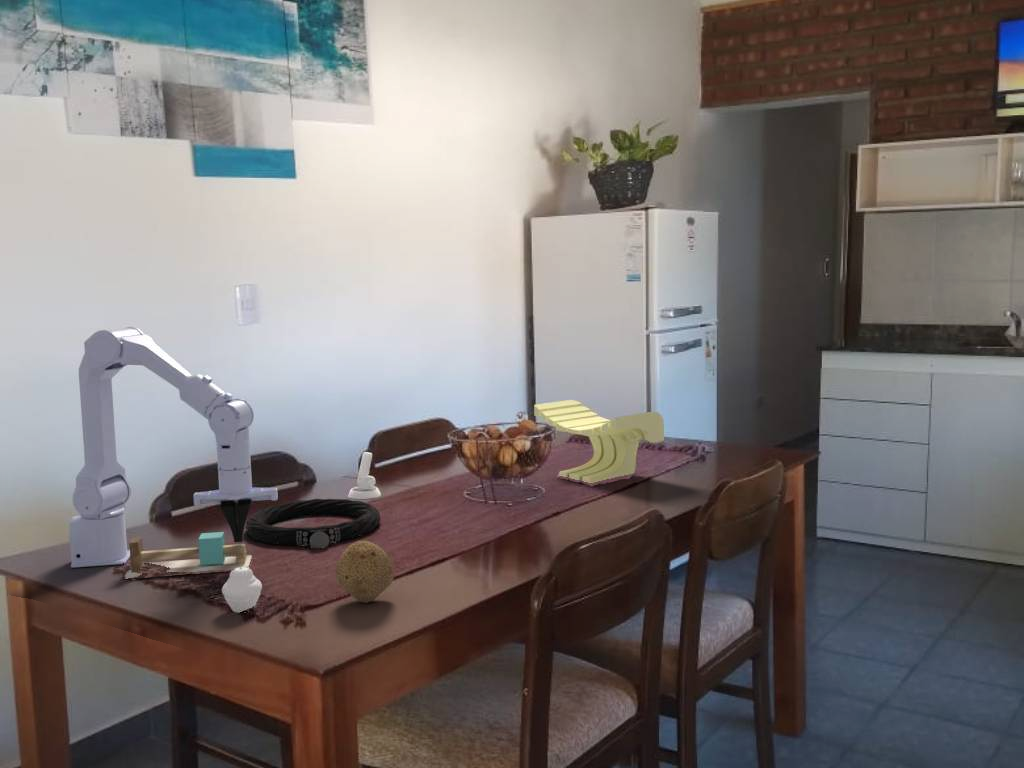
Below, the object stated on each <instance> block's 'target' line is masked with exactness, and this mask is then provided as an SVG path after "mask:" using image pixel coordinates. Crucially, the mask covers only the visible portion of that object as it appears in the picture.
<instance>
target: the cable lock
mask: <svg viewBox="0 0 1024 768" xmlns="http://www.w3.org/2000/svg"><path fill="white" fill-rule="evenodd" d="M324 514H327V515H337V514H341V515H340V516H351V515H353V516H352V517H355V516H356V517H355V518H356V519H353V520H348V521H345V522H341V523H338V524H328V525H321V526H315V527H314V526H313V527H311V526H310V527H307V526H306V527H285V526H276V525H275V526H274V525H272V524H273V523H275V522H279V521H284V520H288V519H292V518H298V517H308V516H315V515H317V516H318V515H319V516H320V515H321V516H323V515H324ZM324 516H325V515H324ZM357 517H358V518H357ZM380 521H381V514H380V511H379V509H377V508H376V507H374V506H373V505H371V504H370V503H366V502H364V501H362V500H361V501H360V500H353V499H352V500H351V499H348V498H346V499H345V498H326V499H324V498H313V499H308V500H307V499H306V500H304V499H303V500H295V501H290V502H286V503H281V504H280V503H279V504H274V505H272V506H271V505H270V506H269V507H266V508H263V509H260V510H258V511H257V512H254V513H253V514H251V515H250V517H249V518H248V519H246V522H245V527H244V529H245V530H247V531H246V533H247V534H248V535H249V536H250V537H251V538H252V539H253V540H256V541H259V540H261V541H264V542H267V543H266V544H271V543H273V544H272V545H277V543H278V544H285V545H284V546H297V545H300V546H302V545H304V546H303V547H305V546H307V547H312V548H311V549H313V548H322V547H326V548H327V546H330V544H329V543H333V544H335V543H334V542H337V541H338V542H339V541H340V540H343V541H346V540H345V539H347V540H349V539H348V538H352V537H355V538H357V537H356V536H359V535H362V534H364V535H365V533H366V534H367V532H368V533H370V532H372V531H373V530H374V529H375V528H377V527H378V526H379V523H380ZM371 530H372V531H371ZM369 531H370V532H369ZM362 536H363V535H362ZM359 537H360V536H359ZM352 539H353V538H352ZM261 541H260V542H261ZM264 542H263V543H264ZM338 542H337V543H338ZM340 542H341V541H340ZM340 542H339V543H340ZM309 544H310V545H309ZM308 545H309V546H308ZM300 546H299V547H300Z"/></svg>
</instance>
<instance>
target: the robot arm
mask: <svg viewBox="0 0 1024 768" xmlns="http://www.w3.org/2000/svg"><path fill="white" fill-rule="evenodd" d="M83 345H84V347H83V348H84V354H83V356H82V359H81V362H80V365H79V367H78V380H79V381H78V383H79V395H80V396H79V399H80V400H79V401H80V410H81V411H80V412H81V413H80V415H81V426H82V428H81V429H82V441H83V453H84V454H83V455H84V457H83V458H84V464H83V467H82V468H81V470H80V471H79V472H78V474H77V475H76V477H75V488H74V491H73V493H72V500H71V501H72V505H73V508H74V509H75V510H76V513H78V514H79V515H74V516H72V517H71V519H70V523H69V532H68V533H69V534H68V535H69V543H70V544H69V545H70V556H71V557H70V558H71V564H70V568H85V567H96V566H110V565H111V566H112V565H123V563H124V564H126V563H127V561H128V560H129V558H130V549H128V544H127V529H126V519H125V518H126V516H125V510H126V504H127V503H128V501H129V500H130V498H131V496H132V495H131V494H132V489H131V485H130V483H129V481H128V479H127V476H126V469H125V467H123V465H122V464H121V463H119V462H118V459H117V447H116V446H117V445H116V428H115V415H114V414H115V413H114V400H113V399H114V398H113V396H114V395H113V383H112V382H113V381H112V380H113V378H114V376H116V375H117V374H118V373H119V372H120V371H122V369H123V368H124V367H126V366H142V367H144V368H146V369H148V370H149V371H151V372H152V373H154V374H155V375H157V377H160V378H161V379H162V380H164V381H166V382H167V383H168V384H170V385H172V386H173V387H174V388H176V389H177V390H178V393H179V398H180V400H181V401H183V402H184V403H185V404H186V405H188V407H190V408H191V409H192V410H194V411H195V412H197V413H198V414H199V415H201V416H202V417H204V418H205V419H206V420H207V422H208V426H209V428H210V429H211V431H212V432H213V434H214V437H215V444H216V458H217V460H216V461H217V473H218V489H215V490H208V491H200V492H194V494H192V495H193V496H192V497H193V505H194V506H201V505H207V504H208V505H209V504H220V507H219V509H220V511H221V513H222V515H223V516H224V517H225V520H226V522H227V524H228V525H229V528H230V531H231V533H232V537H233V542H234V543H242V542H243V540H244V533H245V532H244V530H245V527H246V521H247V517H248V514H249V511H250V509H251V507H252V504H253V501H255V502H257V501H258V502H259V501H269V500H271V501H277V500H278V499H279V497H278V495H279V494H278V493H279V492H278V487H253V483H252V482H253V481H252V480H253V479H252V465H251V461H252V460H251V448H250V447H251V446H250V430H249V428H250V426H251V425H252V423H253V421H254V416H255V415H254V410H253V408H252V407H251V405H250V404H249V403H248V402H247V401H246V400H245V399H244V398H239V397H238V398H233V394H231V393H230V392H226V391H224V390H222V389H221V388H220V387H219V386H217V385H216V384H215V383H213V378H212V377H210V375H203V374H200V373H199V374H193V375H192V374H191V373H190V372H188V370H186V369H185V368H184V367H183V366H181V365H180V364H179V363H178V362H177V361H176V360H174V358H172V356H170V355H168V354H167V353H166V351H164V350H163V349H162V348H161V347H159V346H158V345H157V344H156V343H155V341H154V340H153V337H151V336H149V335H147V334H145V333H144V332H143V331H142V330H140V329H139V328H137V327H133V326H128V327H125V328H117V329H115V328H114V329H109V330H108V329H107V330H106V329H101V330H97V331H95V332H94V333H93V334H91V335H90V336H89V337H88V338H87V339H86V340H85V341H84V342H83Z"/></svg>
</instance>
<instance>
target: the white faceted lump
mask: <svg viewBox="0 0 1024 768" xmlns="http://www.w3.org/2000/svg"><path fill="white" fill-rule="evenodd" d="M256 577H257V576H255V575H254V572H253V570H252V569H251V568H250V567H249V568H247V567H239V568H236V569H234V570H232V571H231V572H229V577H228V579H227V581H225V583H224V584H223V586H222V588H221V593H222V595H223V596H224V599H225V601H226V602H227V604H228V606H229V607H230V608H231V610H232V611H233V612H234V613H237V614H241V613H240V612H242V611H244V610H247V609H249V608H252V607H253V606H255V607H256V605H257V602H258V601H259V598H260V596H261V592H262V589H263V585H262V582H261V581H260V580H259V579H258V578H256Z"/></svg>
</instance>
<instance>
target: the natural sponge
mask: <svg viewBox="0 0 1024 768" xmlns="http://www.w3.org/2000/svg"><path fill="white" fill-rule="evenodd" d="M335 578H336V581H337V582H338V584H339V585H340V586H341V588H342V589H343V590H344V591H346V592H347V594H348V595H350V596H351V597H352V598H353V599H356V601H359V602H361V603H363V604H364V603H365V604H366V603H367V604H368V603H371V602H373V601H375V600H376V599H377V598H378V597H379V596H380V594H382V592H384V591H386V590H387V589H389V587H390V586H391V585H392V582H393V580H394V568H393V565H392V563H391V560H390V558H389V556H388V555H387V553H386V552H385V550H384V549H383V548H382V547H380V546H379V545H378V544H375V543H373V542H372V541H371V542H370V541H368V540H358V541H356V542H353V543H352V544H350V545H349V546H347V547H346V548H345V549H344V551H343V552H342V553H341V555H340V557H339V560H338V563H337V565H336V568H335Z"/></svg>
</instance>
